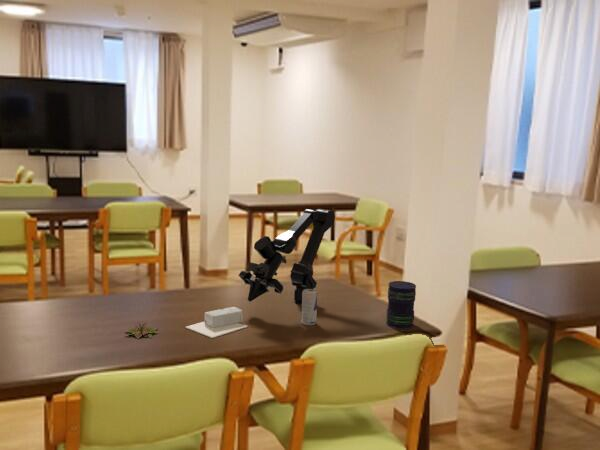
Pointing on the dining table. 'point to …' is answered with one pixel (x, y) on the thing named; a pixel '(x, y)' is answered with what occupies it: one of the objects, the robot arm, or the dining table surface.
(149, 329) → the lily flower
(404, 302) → the storage jar
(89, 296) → the dining table surface
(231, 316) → the skincare box
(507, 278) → the dining table surface
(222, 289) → the dining table surface
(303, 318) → the energy drink
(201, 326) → the mat
